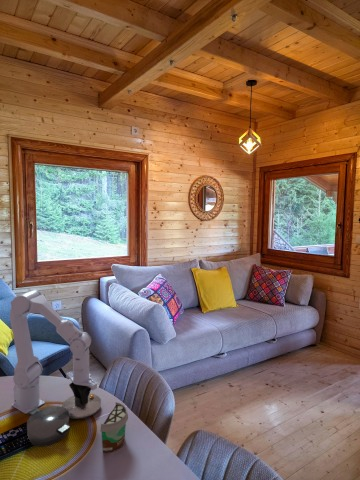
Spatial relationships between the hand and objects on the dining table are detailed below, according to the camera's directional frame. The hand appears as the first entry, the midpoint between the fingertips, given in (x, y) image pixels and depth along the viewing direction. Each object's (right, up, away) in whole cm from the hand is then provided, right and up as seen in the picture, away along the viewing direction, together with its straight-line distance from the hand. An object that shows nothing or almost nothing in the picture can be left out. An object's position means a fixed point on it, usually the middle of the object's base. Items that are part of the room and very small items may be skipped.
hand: (81, 401), depth 118 cm
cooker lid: (0, -2, 0) cm, 2 cm away
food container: (+17, -5, -16) cm, 24 cm away
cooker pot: (-7, -4, -11) cm, 14 cm away
